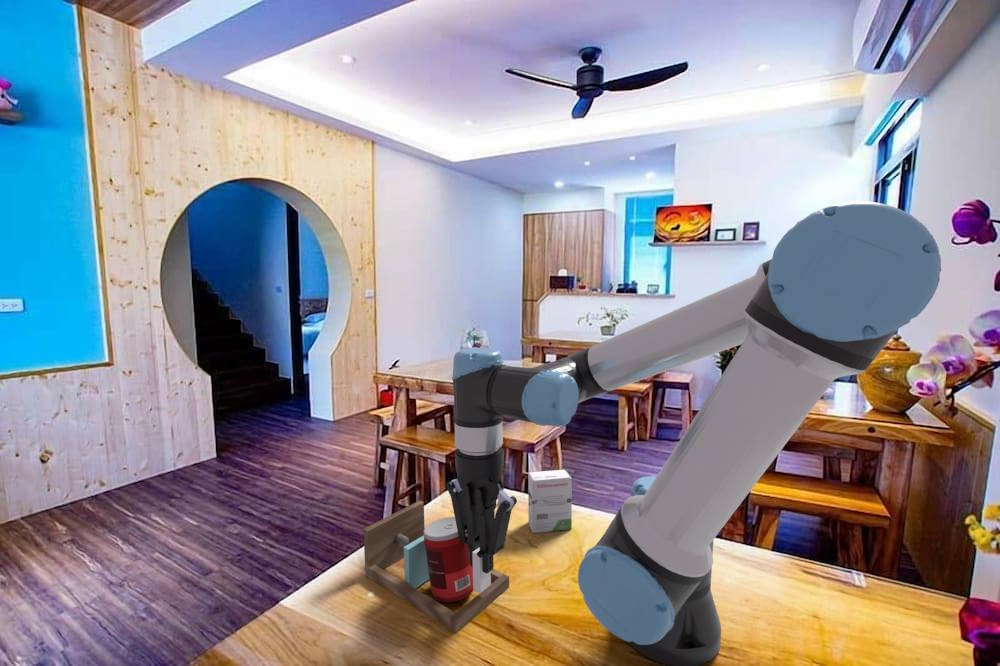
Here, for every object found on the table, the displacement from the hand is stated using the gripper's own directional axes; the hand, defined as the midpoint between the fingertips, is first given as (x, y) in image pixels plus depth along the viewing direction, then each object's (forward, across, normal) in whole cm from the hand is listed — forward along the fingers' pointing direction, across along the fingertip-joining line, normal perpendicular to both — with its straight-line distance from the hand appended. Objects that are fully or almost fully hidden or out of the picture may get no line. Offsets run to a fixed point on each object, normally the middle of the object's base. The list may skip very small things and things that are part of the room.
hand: (482, 587), depth 77 cm
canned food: (+3, +6, 0) cm, 7 cm away
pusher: (+3, +13, 0) cm, 14 cm away
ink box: (+4, +5, -28) cm, 29 cm away
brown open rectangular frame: (+3, +11, 0) cm, 11 cm away
